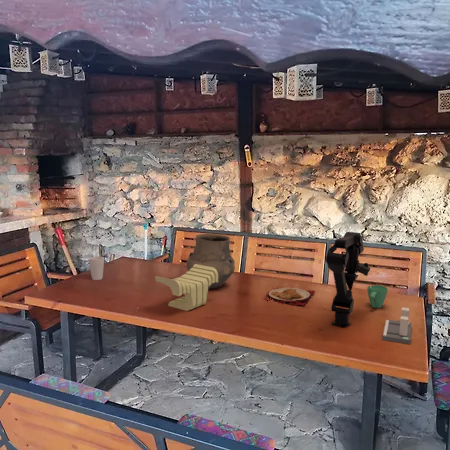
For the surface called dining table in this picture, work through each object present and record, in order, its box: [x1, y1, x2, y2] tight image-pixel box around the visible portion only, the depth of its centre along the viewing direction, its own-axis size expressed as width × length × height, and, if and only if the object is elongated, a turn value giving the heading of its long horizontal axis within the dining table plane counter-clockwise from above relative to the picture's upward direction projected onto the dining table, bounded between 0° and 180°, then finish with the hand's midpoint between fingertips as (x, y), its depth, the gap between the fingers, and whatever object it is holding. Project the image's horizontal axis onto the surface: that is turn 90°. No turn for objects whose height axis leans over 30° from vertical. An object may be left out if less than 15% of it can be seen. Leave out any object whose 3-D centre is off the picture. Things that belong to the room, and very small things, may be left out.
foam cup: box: [88, 255, 105, 281], centre depth 284 cm, size 10×9×13 cm
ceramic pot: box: [186, 233, 236, 290], centre depth 268 cm, size 28×28×30 cm
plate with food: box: [264, 286, 316, 307], centre depth 251 cm, size 25×26×4 cm
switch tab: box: [400, 307, 410, 319], centre depth 205 cm, size 3×4×7 cm
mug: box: [367, 284, 389, 309], centre depth 232 cm, size 15×10×10 cm
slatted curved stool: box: [155, 264, 218, 312], centre depth 235 cm, size 30×16×18 cm, turn 143°
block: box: [399, 316, 409, 336], centre depth 194 cm, size 3×4×7 cm
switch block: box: [381, 318, 412, 345], centre depth 201 cm, size 11×21×2 cm, turn 157°
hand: (350, 290), depth 220 cm, fingers closed
